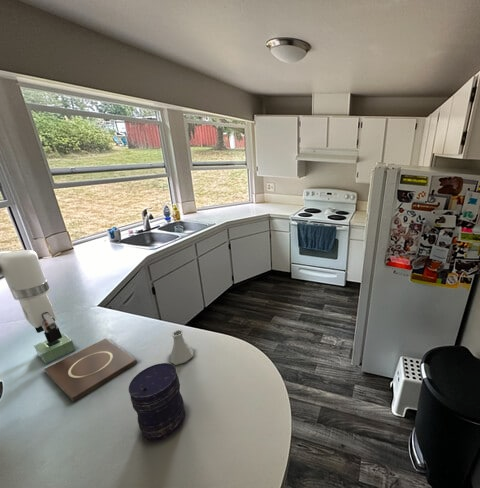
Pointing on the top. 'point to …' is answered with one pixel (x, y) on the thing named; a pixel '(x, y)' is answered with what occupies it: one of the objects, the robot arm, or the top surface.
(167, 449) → the top surface
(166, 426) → the storage jar
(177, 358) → the flask
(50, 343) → the marker
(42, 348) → the pen stand
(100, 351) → the board
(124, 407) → the top surface
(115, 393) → the top surface
